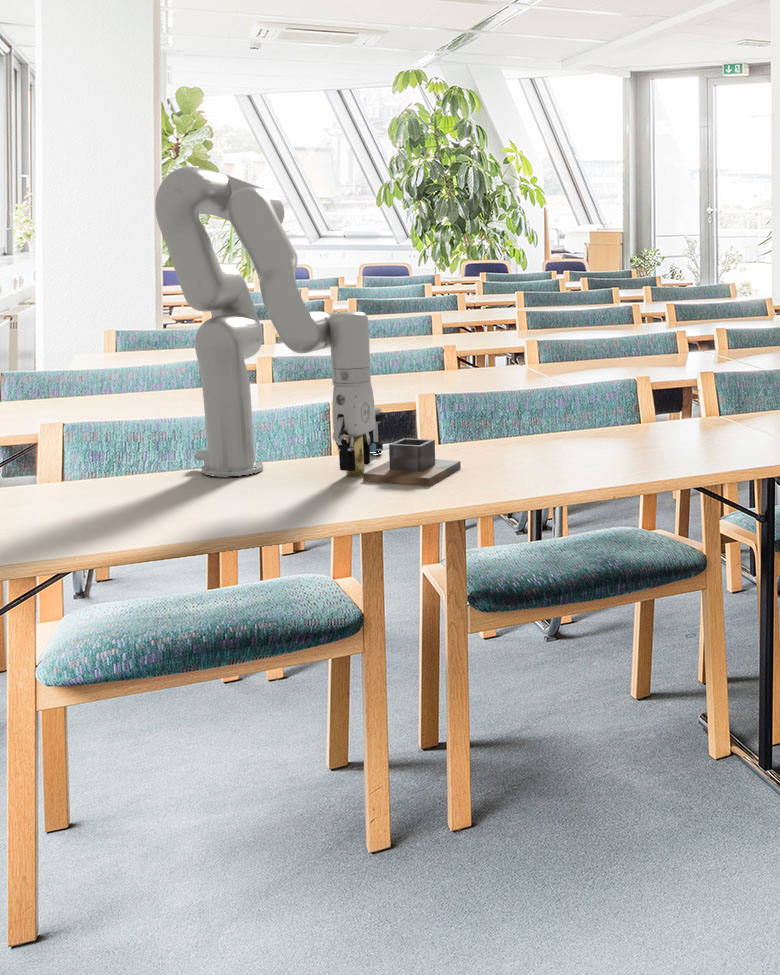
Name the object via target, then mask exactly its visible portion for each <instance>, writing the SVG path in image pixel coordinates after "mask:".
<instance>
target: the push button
mask: <svg viewBox="0 0 780 975" xmlns="http://www.w3.org/2000/svg"><path fill="white" fill-rule="evenodd" d="M381 410H382V409H381V407H375V419H376V427H375V428H374V430H372V431H371V435H370V444H367V445H369V448H370V452H376V453H370V455H371V454H378V455H379V456H383V453H382V451H383V449H384V447H383V443H382V442H381V436H380V435H379V434H380V433H379V430H378V429H379V427H378V426H379V424H381V423H382V422H383V421H385V414H386V413H385V412H382V411H381ZM378 451H379V452H378ZM379 453H381V454H379Z"/></svg>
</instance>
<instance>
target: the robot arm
mask: <svg viewBox="0 0 780 975" xmlns="http://www.w3.org/2000/svg"><path fill="white" fill-rule="evenodd" d="M284 207H285V206H284V204H283V201H282V200H281V198H280V197H279V196H278V195H277V193H275V192H273V191H272V190H269V189H267V188H265V187H260V186H258V185H255V184H252V183H250V182H247V181H244V180H241V179H240V178H239V179H238V178H236V177H234V176H231V175H228V174H225V173H223V172H219V171H216V170H212V169H206V168H201V167H196V166H195V167H194V166H183V167H179V168H176V169H174V170H173V171H171V172H170V173H168V175H167V176H166V177H165V178H164V179H163V180H162V182H161V183H160V184H159V187H158V190H157V191H156V196H155V203H154V210H155V216H156V222H157V225H158V228H159V230H160V233H161V236H162V238H163V241H164V243H165V245H166V249H167V250H168V254H169V257H170V260H171V263H172V265H173V266H172V267H173V269H174V272H175V274H176V275H175V276H176V277H177V279H178V283H179V285H180V289H181V291H182V292H181V293H182V295H183V298H184V299H185V302H186V304H188V305H189V307H190V308H192V309H193V310H195V311H197V312H203V313H204V312H205V313H206V312H210V313H211V316H212V317H211V318H208V319H207V320H205V321H204V322H203V323H202V324H200V326H199V328H197V331H196V334H195V336H194V347H195V348H194V350H195V355H196V358H197V363H198V366H199V372H200V378H201V387H202V398H203V409H204V411H203V412H204V422H205V433H206V445H207V446H206V447H207V449H197V450H196V453H194V457H193V458H194V460H195V461H203V462H204V463H203V464H204V465H203V466H202V467H201V468H200V469H201V473H202V472H203V473H204V474H207V475H214V476H239V477H242V476H241V475H246V476H250V475H249V474H251V475H254V474H253V473H255V474H257V472H258V473H259V472H262V471H263V470H264V463H263V462H261V461H258V460H256V453H255V436H254V422H253V412H252V411H253V410H252V394H251V384H250V377H249V372H248V368H247V365H246V361H245V360H247V359H249V358H252V357H253V356H255V355H256V354H257V353H258V352H259V350H260V349H261V347H262V344H263V337H264V336H263V335H264V334H263V329H262V325H261V322H260V319H259V316H258V314H257V311H256V307H255V305H254V302H253V299H252V296H251V293H250V290H249V288H248V284H247V282H246V280H245V278H244V277H243V275H242V273H240V271H239V270H238V269H237V268H236V267H234V266H233V265H232V264H229V263H226V262H219V260H218V258H217V255H216V253H215V250H214V248H213V244H212V241H211V238H210V236H209V234H208V231H207V230H206V228H205V227H204V225H203V223H202V222H201V220H200V214H201V215H202V214H203V215H210V216H214V217H218V218H220V219H223V220H225V221H229V222H230V224H231V225H232V228H233V230H234V231H235V233H236V235H237V238H238V240H239V241H240V242H241V245H242V247H243V248H244V250H245V253H246V254H247V256H248V258H249V260H250V262H251V264H252V266H253V268H254V270H255V271H256V274H257V276H258V284H259V287H260V292H261V297H262V301H263V305H264V308H265V310H266V314H267V315H268V317H269V319H270V321H271V323H272V325H273V328H274V329H275V330H276V332H277V334H278V336H279V338H280V339H281V341H282V343H284V345H285V346H286V347H287V348H288V349H289V350H291V351H293V352H294V353H297V354H308V353H312V352H315V351H319V350H323V349H329V348H330V361H331V362H330V363H331V364H330V365H331V380H332V382H331V383H332V384H331V385H332V386H333V389H332V390H333V392H332V429H333V433H332V439H333V441H335V444H336V446H337V451H338V458H339V461H338V462H339V470H340V471H343V472H346V471H355V451H352V450H353V442H354V437H357V436H360V435H363V451H364V465H370V463H371V456H370V455H371V454H370V448H369V445H367V444H370V435H371V431H372V430H374V428H375V427H376V419H375V408H376V407H375V399H374V397H375V396H374V393H373V392H374V391H373V386H372V383H371V382H372V380H371V379H372V378H371V376H372V375H371V357H370V356H371V355H370V354H371V353H370V352H371V351H370V329H369V328H370V327H369V326H370V324H369V317H368V315H367V314H366V313H365V312H363V311H341V312H326V311H321V310H320V311H319V310H313V311H309V310H308V307H307V306H306V304H305V302H304V300H303V298H302V296H301V294H300V291H299V287H298V284H297V279H296V270H297V266H298V254H297V252H296V250H295V248H294V246H293V244H292V242H291V240H290V239H289V237H288V235H287V233H286V231H285V228H284V227H283V225H282V224H283V222H284V218H285V208H284ZM344 432H348V433H349V434H350V435H345V433H344ZM345 438H348V439H349V440H348V443H347V441H346V440H345ZM204 474H203V475H204Z"/></svg>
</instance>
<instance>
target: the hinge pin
mask: <svg viewBox="0 0 780 975" xmlns="http://www.w3.org/2000/svg"><path fill="white" fill-rule="evenodd" d="M344 433H345V434H344V435H350V434H349V433H348V432H344ZM344 439H345V440H346V441H347V443H348V440H349V439H348V438H344ZM352 451H355V471H345V472H346V476H347V477H353V478H355V477H357V478H358V477H363V473H365V464H364V451H363V435H360V436H357V437H354V442H353V450H352Z"/></svg>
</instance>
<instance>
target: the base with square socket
mask: <svg viewBox="0 0 780 975" xmlns="http://www.w3.org/2000/svg"><path fill="white" fill-rule="evenodd" d="M435 443H436V440H435V439H424V438H422V439H421V438H407V437H406V438H405V437H404V438H400V439H398V440H395V441H394V442H391V443H389V444H388V451H389V452H388V453H389V460H388V461H387V462H385V463H382V464H379V465H378V466H375V467H373V468H372V469H370V470H367V471H364V473H363V476H362V481H363V482H371V483H372V482H373V483H384V484H400V485H408V486H410V485H411V486H423V487H424V486H425V487H431V486H432V485H434V484H436V483H437V482H439V481H441V480H443V479H444V478H446V477H449V475H452V474H453V473H455V472H456V471H458V470H460V469H461V460H451V459H436V444H435Z"/></svg>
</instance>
